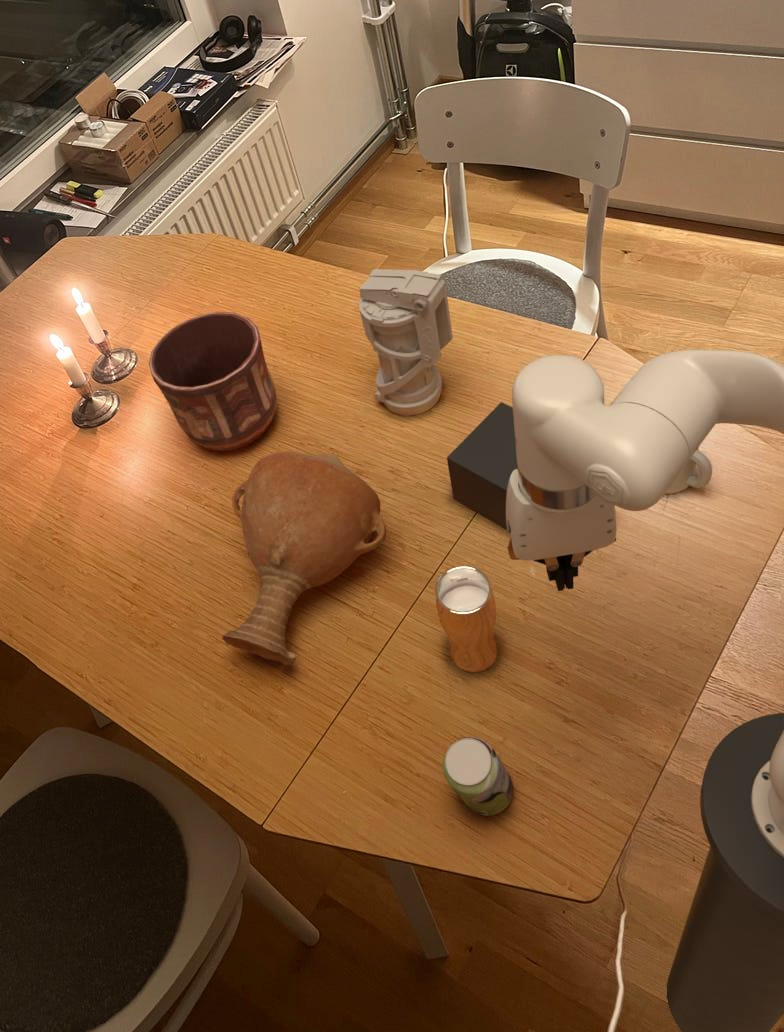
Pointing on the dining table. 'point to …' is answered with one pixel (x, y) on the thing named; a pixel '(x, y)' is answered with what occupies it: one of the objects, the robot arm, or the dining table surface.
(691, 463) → the cup
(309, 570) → the jug
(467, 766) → the beverage can
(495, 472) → the cabinet
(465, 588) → the beer glass
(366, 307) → the lantern
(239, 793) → the dining table surface
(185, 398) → the pottery
